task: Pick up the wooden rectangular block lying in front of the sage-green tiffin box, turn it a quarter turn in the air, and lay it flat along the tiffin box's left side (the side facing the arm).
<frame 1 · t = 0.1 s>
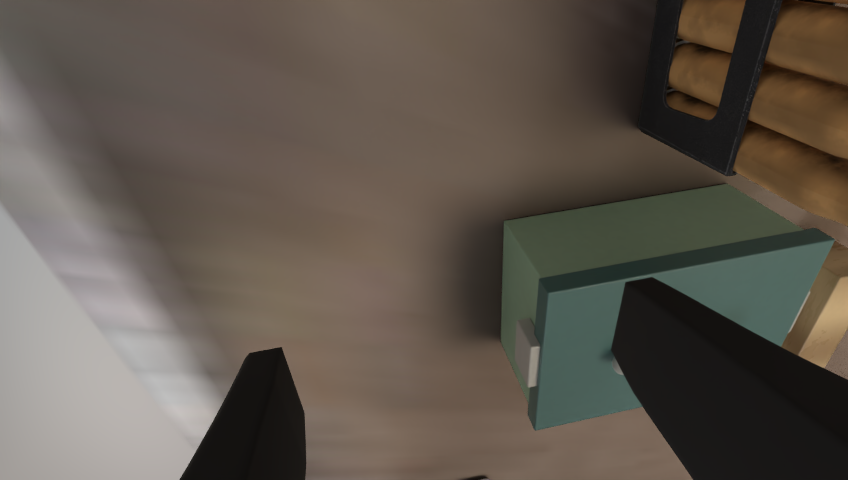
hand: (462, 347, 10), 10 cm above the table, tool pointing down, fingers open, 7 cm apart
tiffin box: (606, 267, 23), on the table
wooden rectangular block: (770, 313, 28), on the table
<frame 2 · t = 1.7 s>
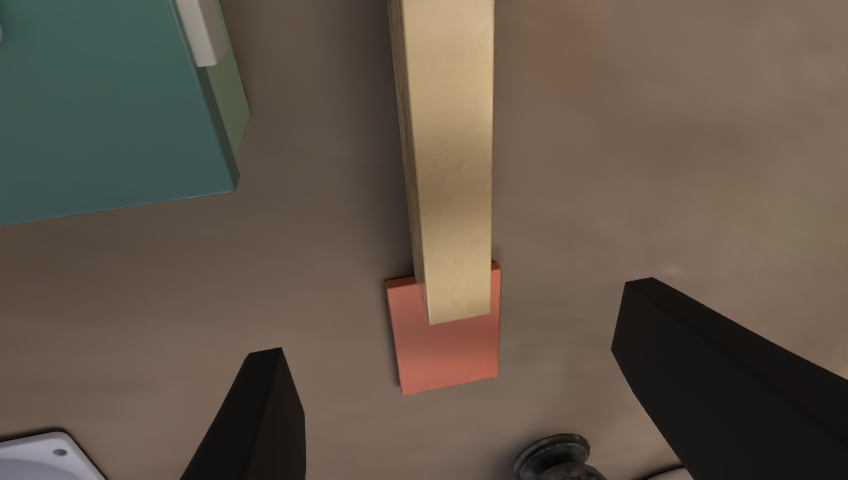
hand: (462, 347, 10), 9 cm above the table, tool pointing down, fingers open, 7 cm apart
tiffin box: (1, 2, 12), on the table
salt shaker: (550, 456, 31), on the table
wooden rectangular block: (434, 152, 17), on the table
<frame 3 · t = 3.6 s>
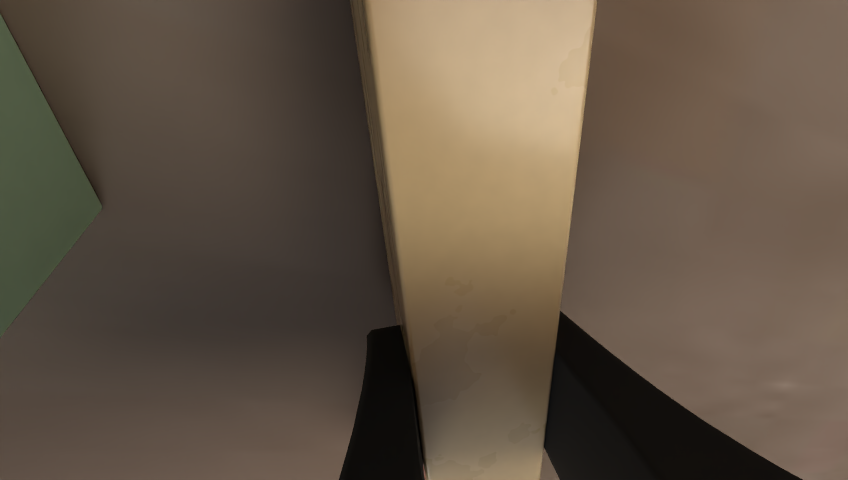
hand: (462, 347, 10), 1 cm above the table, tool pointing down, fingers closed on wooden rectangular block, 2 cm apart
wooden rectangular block: (442, 252, 10), on the table, touching gripper
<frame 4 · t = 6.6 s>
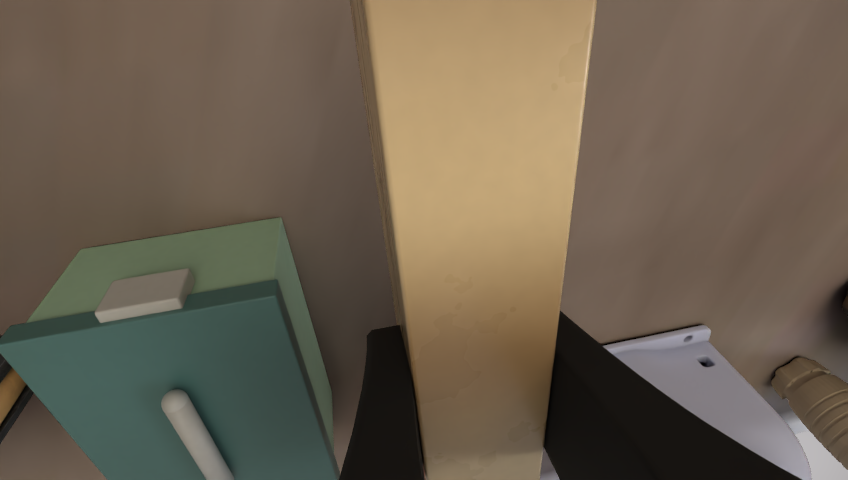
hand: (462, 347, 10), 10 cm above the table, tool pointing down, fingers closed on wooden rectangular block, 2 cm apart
tiffin box: (226, 332, 21), on the table
handle: (787, 368, 33), on the table
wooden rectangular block: (442, 250, 10), point 9 cm above the table, touching gripper
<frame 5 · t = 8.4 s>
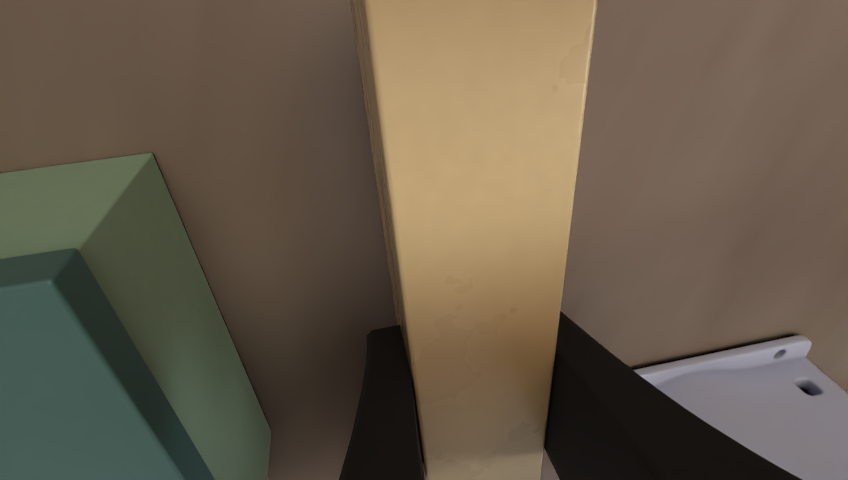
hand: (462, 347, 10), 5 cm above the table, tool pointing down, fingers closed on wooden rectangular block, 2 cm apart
tiffin box: (91, 346, 14), on the table
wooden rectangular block: (442, 251, 10), point 3 cm above the table, touching gripper
when the fingers open (1 cm above the table, at t = 9.6 s): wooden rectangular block stays where it is, on the table.
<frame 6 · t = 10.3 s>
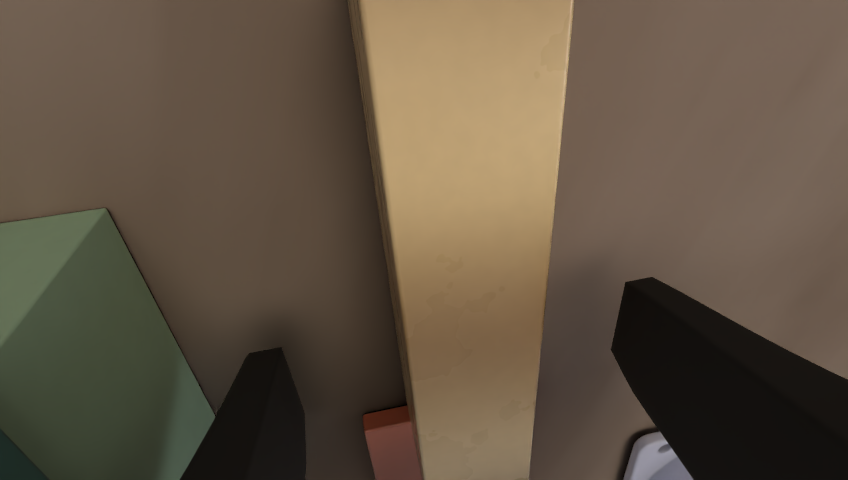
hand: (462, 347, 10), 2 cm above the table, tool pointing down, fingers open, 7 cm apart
tiffin box: (43, 428, 11), on the table
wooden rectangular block: (436, 238, 10), on the table
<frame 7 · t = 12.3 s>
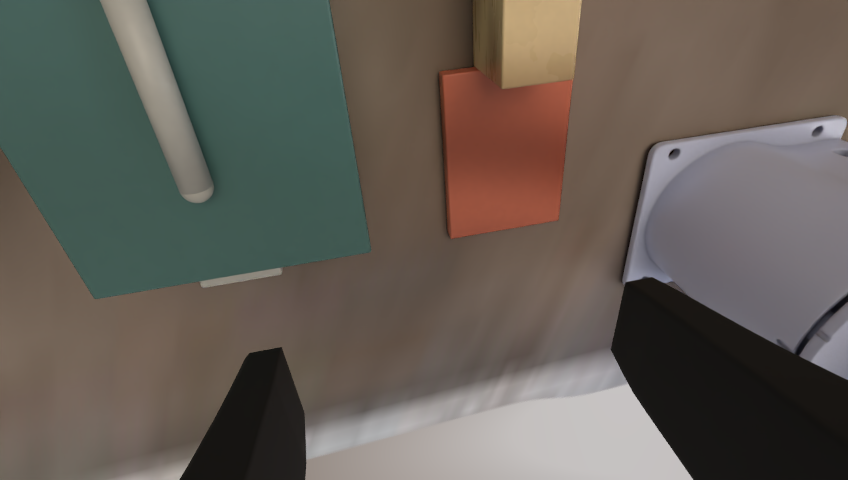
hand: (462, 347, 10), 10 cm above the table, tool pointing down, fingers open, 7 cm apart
tiffin box: (208, 37, 15), on the table
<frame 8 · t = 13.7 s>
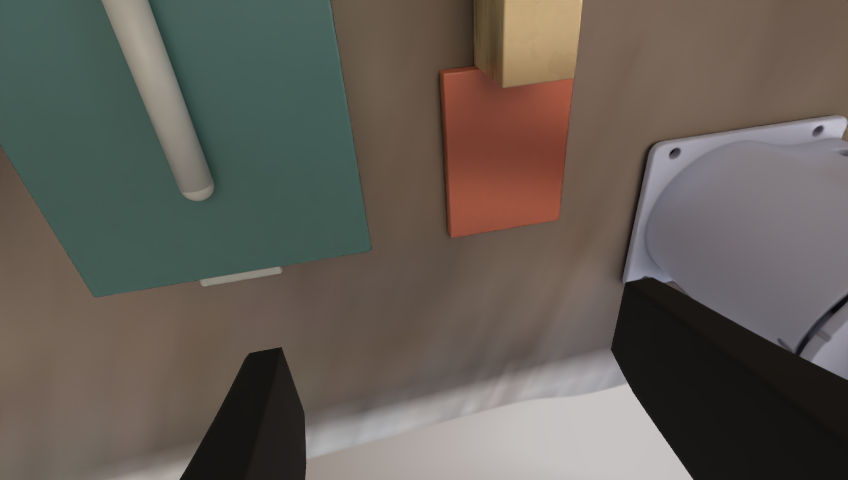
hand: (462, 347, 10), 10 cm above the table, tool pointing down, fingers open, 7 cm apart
tiffin box: (208, 35, 15), on the table
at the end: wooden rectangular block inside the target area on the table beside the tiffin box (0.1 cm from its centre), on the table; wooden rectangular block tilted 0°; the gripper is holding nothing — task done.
